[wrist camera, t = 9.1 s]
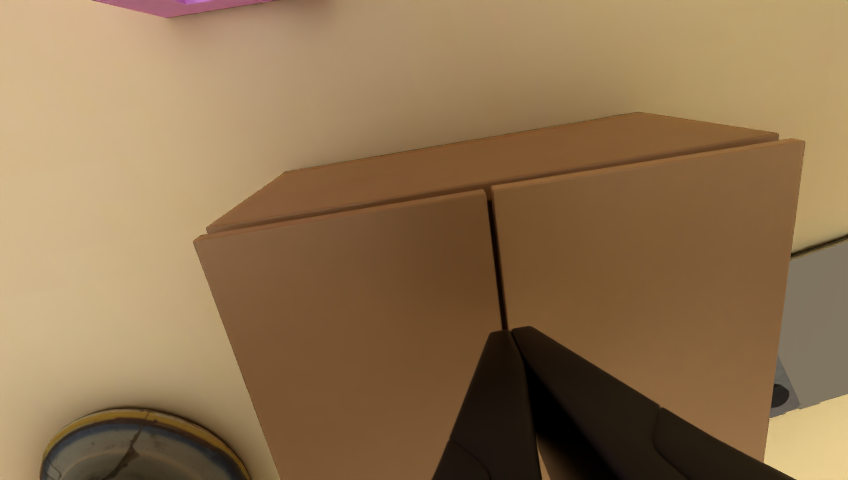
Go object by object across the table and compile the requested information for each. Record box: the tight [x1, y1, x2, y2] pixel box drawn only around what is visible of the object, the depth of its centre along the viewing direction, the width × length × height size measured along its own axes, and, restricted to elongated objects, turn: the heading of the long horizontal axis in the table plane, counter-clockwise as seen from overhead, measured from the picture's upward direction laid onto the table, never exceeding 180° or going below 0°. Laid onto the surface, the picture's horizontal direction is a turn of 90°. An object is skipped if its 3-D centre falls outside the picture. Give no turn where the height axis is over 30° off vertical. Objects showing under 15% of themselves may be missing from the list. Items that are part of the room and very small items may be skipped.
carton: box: [193, 112, 779, 480], centre depth 15 cm, size 13×16×7 cm
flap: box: [490, 139, 805, 480], centre depth 12 cm, size 6×16×1 cm, turn 9°
